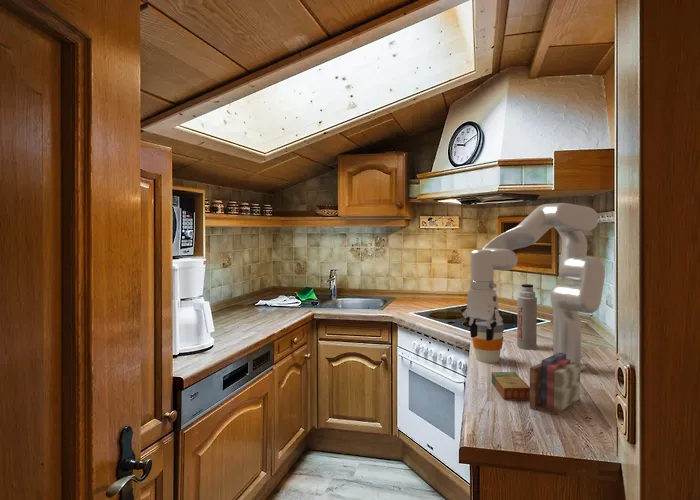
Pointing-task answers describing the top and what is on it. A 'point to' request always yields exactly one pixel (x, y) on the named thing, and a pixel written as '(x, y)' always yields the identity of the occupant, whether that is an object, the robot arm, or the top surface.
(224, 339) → the top surface
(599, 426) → the top surface
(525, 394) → the carton
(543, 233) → the robot arm
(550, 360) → the bookend
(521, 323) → the thermos bottle
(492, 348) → the reusable coffee cup
